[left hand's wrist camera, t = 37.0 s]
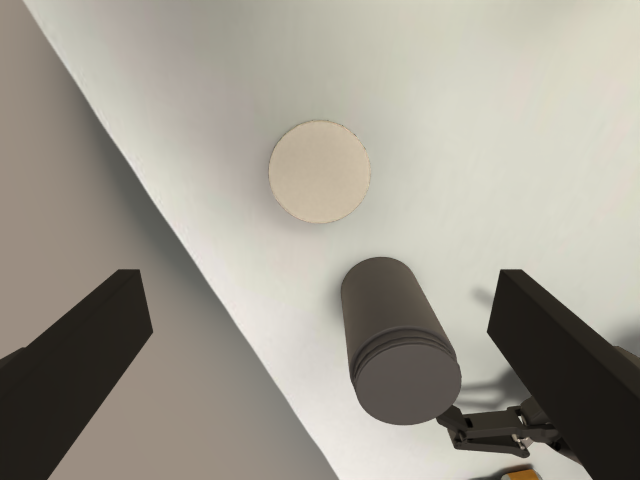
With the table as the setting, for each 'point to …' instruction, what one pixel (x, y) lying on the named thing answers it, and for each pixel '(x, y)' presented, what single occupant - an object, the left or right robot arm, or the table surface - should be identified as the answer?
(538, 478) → the spray gun
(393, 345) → the jar
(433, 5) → the table surface
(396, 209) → the table surface
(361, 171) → the lid
